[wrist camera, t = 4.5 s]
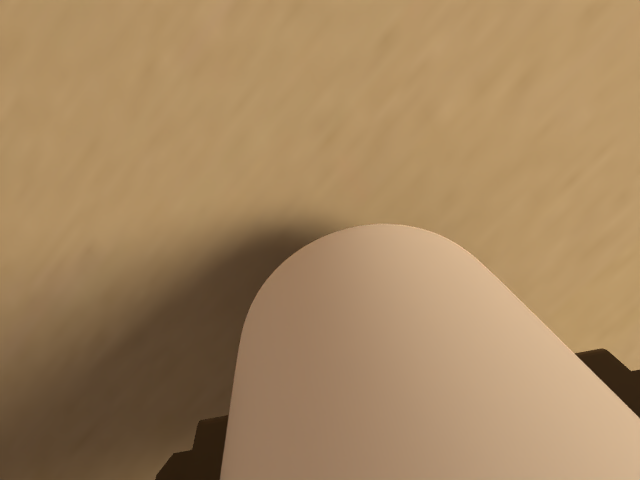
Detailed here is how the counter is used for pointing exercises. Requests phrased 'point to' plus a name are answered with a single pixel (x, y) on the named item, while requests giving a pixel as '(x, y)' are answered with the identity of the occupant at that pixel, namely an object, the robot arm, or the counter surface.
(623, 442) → the can
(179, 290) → the counter surface
